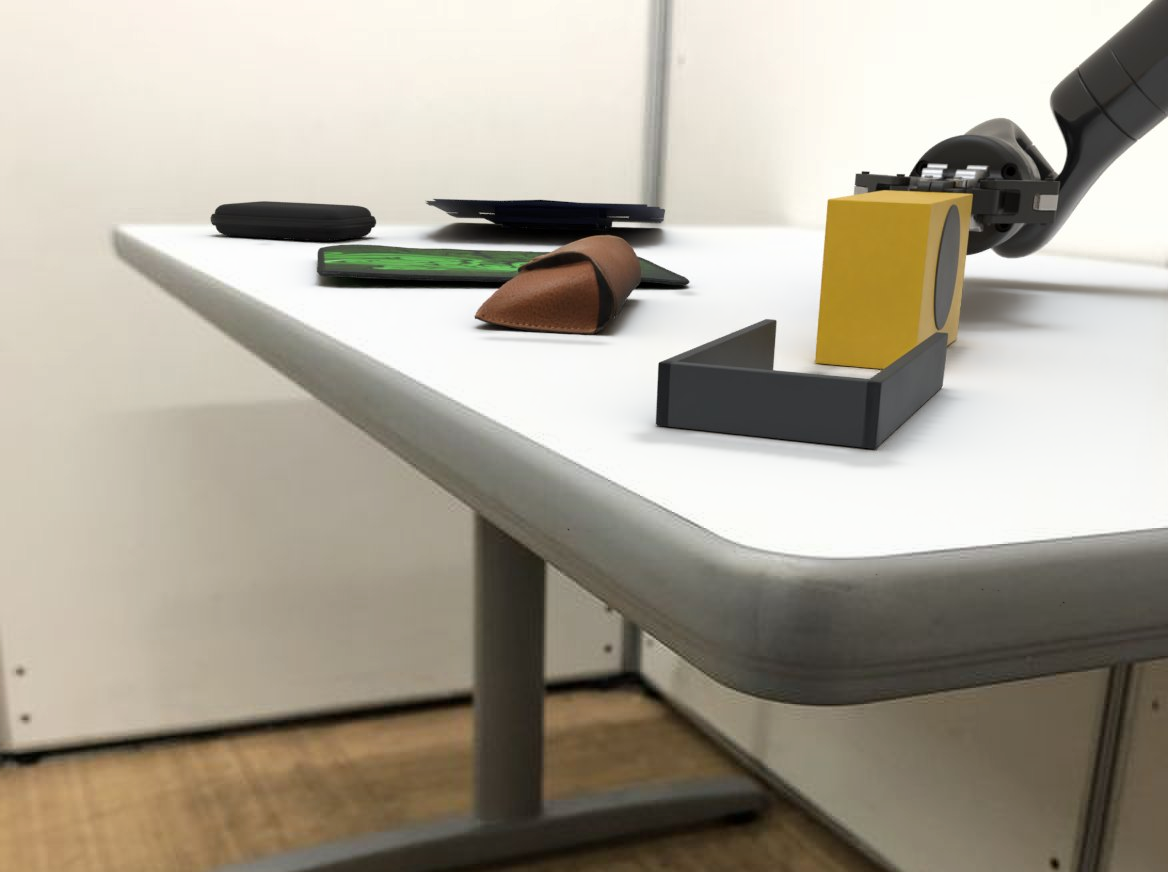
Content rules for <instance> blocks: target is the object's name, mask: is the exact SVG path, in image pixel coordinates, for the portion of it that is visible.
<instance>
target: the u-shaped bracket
mask: <svg viewBox="0 0 1168 872" xmlns="http://www.w3.org/2000/svg"><path fill="white" fill-rule="evenodd" d="M777 323H778V321H777V320H776V319H771V318H770V319H769V318H765V319H762V320H760V321H758V322H755V323H753V324H751V325H748V326H746V327H745V326H744V327H743V328H740V329H738V330H735V331H732V332H730V333H728V334H726V335H724V336H721V337H718V338H716V339H713V340H711V341H709V342H706V343H703V344H700V345H699V346H696V347H694V348H690V349H689V350H686V351H683V352H681V353H678V354H677V355H674V356H672V357H669V358H666V359H664V360H662V361H659V362H658V366H657V385H656V388H657V389H656V407H655V408H656V409H655V426H659V427H668V428H675V429H676V428H677V429H678V428H679V429H686V430H695V431H703V432H714V433H715V432H716V433H723V434H733V435H742V436H752V437H758V438H759V437H760V438H769V439H779V440H789V441H796V442H797V441H798V442H805V443H806V442H807V443H816V444H824V445H825V444H826V445H833V446H843V447H844V446H845V447H851V448H863V449H872V450H876V449H877V448H878V447H879V446H880V445H881V444H882V443H883V442H884V441H885V440H886V439H888V438H889V436H891V434H893V433H894V432H895V431H896V430H897V429H898V428H899V427H900V426H901V425H902V424H904V423H905V422H906V421H907V420H908V419H909V418H910V417H911V416H912V415H913V414H914V413H915V412H917V410H919V409H920V408H921V407H922V406H923V405H924V404H925V403H927V402H928V400H930V398H932V397H933V396H934V395H936V393H937V392H939V390H941V389H942V387H943V386H944V378H945V370H946V369H945V368H946V361H947V349H948V346H947V342H948V333H942V332H936V333H934V334H933V335H931V336H930V337H929V338H927V339H926V340H924V341H923V342H921V343H920V344H919V345H917V346H916V347H914V348H913V349H911V350H910V351H909V352H907V353H906V354H904V355H903V356H902V357H900V358H899V359H897V360H896V361H894V362H893V363H892V364H890V365H889V366H887V367H886V368H885V369H881V370H880V371H879V372H878V373H876V374H874V375H873V376H871V377H870V378H866V377H865V378H863V377H852V376H841V375H831V374H822V373H821V374H820V373H809V372H796V371H786V370H774V366H775V365H774V364H775V351H776V336H777Z"/></svg>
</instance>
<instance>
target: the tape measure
mask: <svg viewBox="0 0 1168 872" xmlns="http://www.w3.org/2000/svg"><path fill="white" fill-rule="evenodd" d="M972 199H973V194H963V193H939V192H914V191H889V190H883V191H876V192H870V193H864V194H858V195H854V194H851V195H846V196H845V195H844V196H840V197H833V198H828V199H827V204H826V216H825V229H824V241H823V256H822V266H821V267H822V269H821V279H820V280H821V281H820V292H819V293H820V294H819V304H818V307H819V308H818V318H817V331H816V343H815V356H814V363H815V364H820V365H822V364H823V365H830V366H831V365H833V366H842V367H854V368H855V367H856V368H865V369H876V370H883V369H885V368H886V367H887V366H889V365H890V364H892V363H893V362H894V361H896V360H897V359H899V358H900V357H902V356H903V355H904V354H906V353H907V352H909V351H910V350H911V349H913V348H914V347H916V346H917V345H919V344H920V343H921V342H923V341H924V340H926V339H927V338H929V337H930V336H931V335H933V334H934V333H936V332H942V333H948V342H947V347H948V346H949V345H951V344H952V343H954V342H955V341H956V340H957V339H958V335H959V334H958V333H959V325H960V317H961V316H960V314H961V305H962V297H963V287H964V279H965V278H964V277H965V271H966V262H967V255H966V253H967V244H968V235H969V226H970V217H971V208H972Z"/></svg>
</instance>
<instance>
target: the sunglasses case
mask: <svg viewBox="0 0 1168 872" xmlns="http://www.w3.org/2000/svg"><path fill="white" fill-rule="evenodd" d="M549 252H550V253H547V254H545V255H541V256H538V257H535V258H533V260H531V261H530V262H528V263H526V264H524V265H522V266H520V267H519V268H518V276H516V277H515V278H513V279H511V280H510V281H508V282H504V284H502V285H501V286H500V287H499V288H498V289H497V290H496V291H494V292H493V293H492V294H491V295H490V296H489V297H488V298H487V299H486V300H485V301H484V302H483V303H482V304H481V306H479V307H478V309H477V311H476V312H475V314H474V316H473V317H474V320H479V321H480V322H483V323H486V324H490V325H496V326H503V327H507V328H512V329H517V330H523V331H529V332H540V333H542V332H543V333H561V334H575V335H576V334H577V335H579V334H581V335H583V334H586V335H594V334H596V333H598V332H599V331H602V330H604V329H605V328H606V327H608V326H609V325H610V324H611V322H612V320H614V319H615V320H616V319H617V318H618V315H619V314H620V312H621V309H622V307H623V306H624V305H625V303H626V301H627V300H628V298H629V297H630V296H631V295H632V292H633V291H635V289H636V288H637V287H638V286H639V285H640V284H641V282H640V281H641V267H640V262H639V260H638V257H639V256H638V255H637V253H636V252H635V250H634V248H633V247H632V245H630V244H629V242H628V241H626V240H625V239H624V238H622V237H620V236H616V235H611V234H605V235H604V234H600V235H591V236H587V237H584V238H580V239H577V240H575V241H571V242H569V243H567V244H564V245H562V246H560V247H558V248H556V249H554V250H551V251H549ZM637 256H638V257H637Z"/></svg>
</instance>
